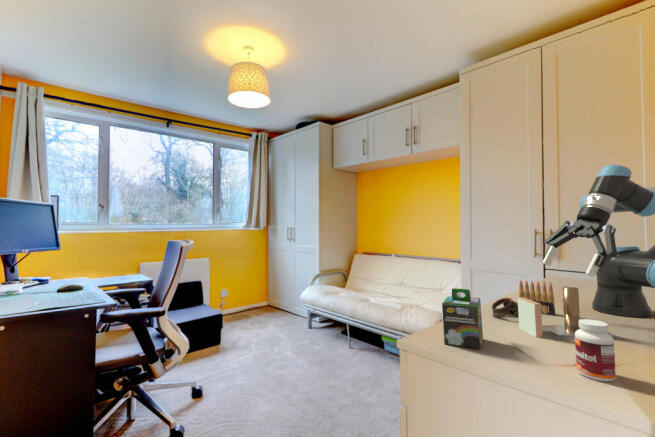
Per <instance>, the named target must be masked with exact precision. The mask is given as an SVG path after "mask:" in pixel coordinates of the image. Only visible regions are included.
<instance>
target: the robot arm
mask: <svg viewBox="0 0 655 437" xmlns="http://www.w3.org/2000/svg"><path fill="white" fill-rule="evenodd" d="M632 174H633V173H632V171H631V169H630V168H628V167H627V166H624V165H622V164H621V165H619V164H610V165H605V166H603V167H602V168H601V169H600V170H599V171H598V174H597V175H596V176H595V180H594V181H593V184H592V185H591V188H590V190H589V191H588V194H585V195H583V196H582V197H581V198H580V200H579V207H580V209H579V211H578V213H577V215H576V219H575V220H576V221H574V222H570V221H569V220H567V219H566V220H564V222H563V224H562V225H561V226H560V227H559V228H558V229H557V230H555V232H553V233H552V234H551V235H550V236H549V237H548V238H546V239H545V240H544V243H545V244H547V245H548V247H547V249H546V251H545V257H544V258H543V260H542V262H541V264H544V265H545V266H547V267H551V265H552V263H553V261H554V259H555V257H556V256H557V253H558V251H559V249H558V248H559V247H561V246H562V245H564V244H566V243H568V242H569V241H572V240H573V239H576V238H587V239H592V241H593V244H594V246H595V248H596V250H595V253H594V255H593V257H592V260H591V261H590V263H589V265H588V267H587V269H586V271H585V274H586V275H588V276H589V277H591V278H595V277H596V285H597V288H596V291H595V295H594V297H593V300H592V302H591V305H592V309H593V310H595V311H597V312H600V313H602V314H603V313H605V314H609V315H615V316H623V317H632V318H645V317H646V318H647V317H651V316H652V309H651V306H650V305H649V303H648V302H647V298H646V296H645V295H644V292H643V287H644V288H651V289H655V244H654V245H653V246H651V247H650V248H649V249H647V250H641V249H640V248H639V246H632V245H631V246H617V245H616V244H617V243H616V238H615V235H616V234H615V233H616V232H617V228H615V226H613V225H612V224H610V223H608V222H609V220H610V218H611V215H612V214H613V213H627V212H629V213H630V212H631V213H633V214H635V215H638V216H640V217H643V218H645V217H646V218H647V217H651V216H653V215H655V186H649V187H643V186H642V185H640V184H638V183H636V182H634V181H633V180H631V177H632ZM602 232H603V233H604V239H605V245H604V243H603V241H602V237H601V236H600V234H601V233H602Z"/></svg>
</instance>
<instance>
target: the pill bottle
mask: <svg viewBox="0 0 655 437" xmlns="http://www.w3.org/2000/svg"><path fill="white" fill-rule="evenodd" d="M579 327H580V329H579V330H577V331H576V332H575V340H574V342H575V345H574V346H575V362H576V363H575V364H576V371H577V372H578V373H579V374H580V375H582V376H583V377H586V378H587V379H591V380H594V381H599V382H604V383H605V382H613V381H615V380H616V377H617V376H616V374H617V372H616V355H615V342H614V340H615V339H613V338H612V336H610V335H609V334H607V332H608V333H609V325H608V323H606V322H604V321H602V320H597V319H587V318H586V319H582V318H581V319H580V320H579Z"/></svg>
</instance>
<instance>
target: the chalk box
mask: <svg viewBox="0 0 655 437" xmlns="http://www.w3.org/2000/svg"><path fill="white" fill-rule="evenodd" d="M458 293H463V295H464V296H459V295H458ZM441 308H442V309H441V311H442V313H441V314H442V324H443V325H442V327H443V328H442V330H443V342H444V345H449V346H456V347H461V348H467V349H474V350H477V351H479V350H482V344H483V340H484V335H483V334H484V332H483V319H482V318H483V317H482V316H483V315H482V303H481V297H471V290H470V289H468V288H452V289H451V296H450V295H449V296H446V298H444V300H443V301H442V303H441Z"/></svg>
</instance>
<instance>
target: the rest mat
mask: <svg viewBox="0 0 655 437" xmlns="http://www.w3.org/2000/svg"><path fill="white" fill-rule="evenodd" d="M542 332H543V335H546V336H548V337H549V338H552V339H554V340H556V341H566V340H567V341H568V340H569V341H570V340H571V341H572V340H573V341H575V337H558V336H555V335H553V334H551V333H549V332H547V331H545V330H543V329H542ZM607 333H609V334H610V336H612V338H613V340H616V339H617V340H622V339H623V340H625V339H626V338H624V337H622V336H619V335H617V334H614V333H610V332H609V331H608V332H607Z"/></svg>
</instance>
